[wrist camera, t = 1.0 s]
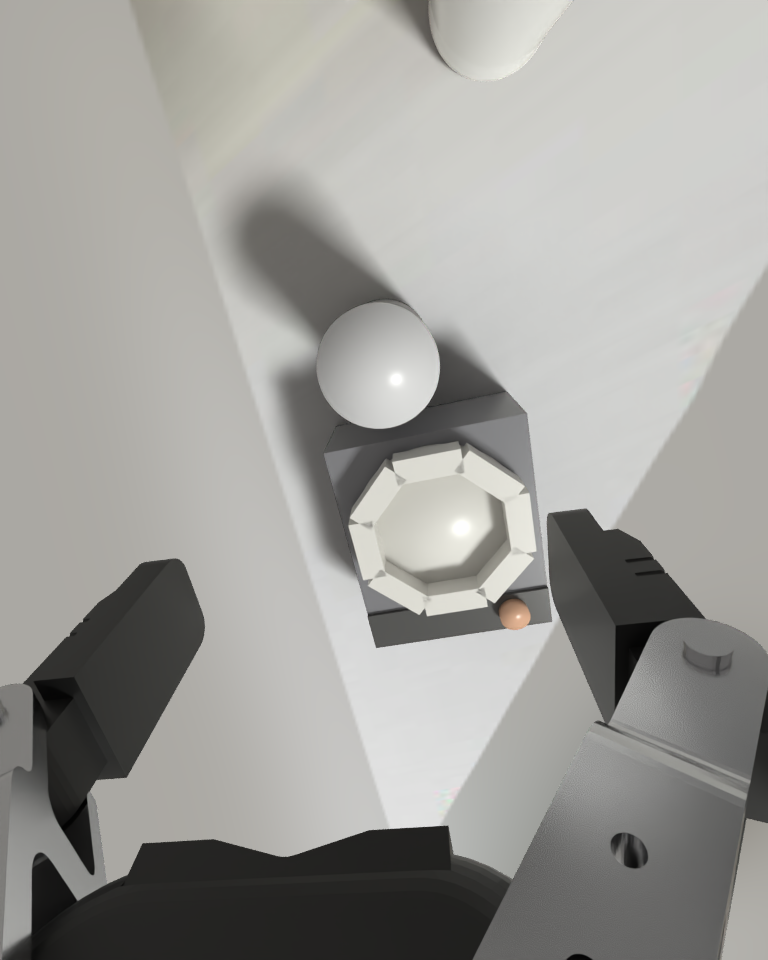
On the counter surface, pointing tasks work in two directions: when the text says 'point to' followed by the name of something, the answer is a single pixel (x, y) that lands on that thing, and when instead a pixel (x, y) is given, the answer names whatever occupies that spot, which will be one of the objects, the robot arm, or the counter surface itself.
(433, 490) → the block with octagonal ring
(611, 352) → the counter surface
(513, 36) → the drinking glass
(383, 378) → the dark capped cylinder
